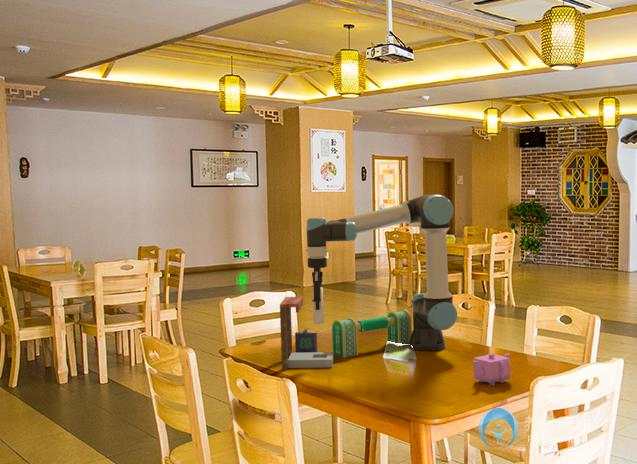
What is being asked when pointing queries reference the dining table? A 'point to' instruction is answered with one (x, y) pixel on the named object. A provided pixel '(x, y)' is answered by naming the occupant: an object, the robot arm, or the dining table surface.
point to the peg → (321, 320)
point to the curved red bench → (287, 326)
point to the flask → (306, 341)
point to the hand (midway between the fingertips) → (318, 316)
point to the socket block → (311, 360)
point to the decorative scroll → (348, 330)
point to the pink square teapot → (492, 368)
